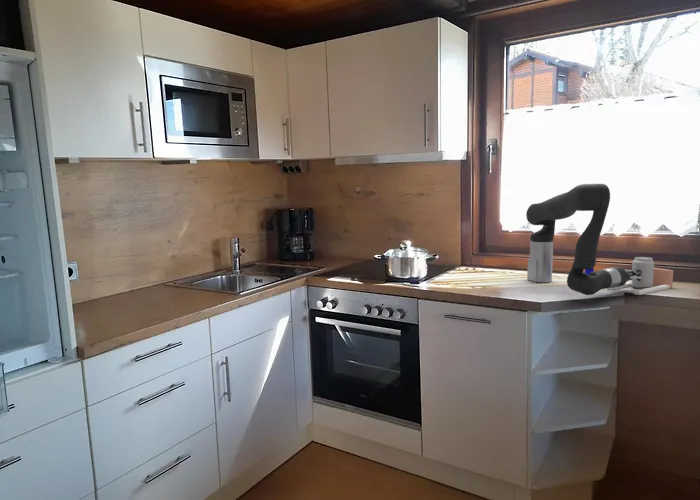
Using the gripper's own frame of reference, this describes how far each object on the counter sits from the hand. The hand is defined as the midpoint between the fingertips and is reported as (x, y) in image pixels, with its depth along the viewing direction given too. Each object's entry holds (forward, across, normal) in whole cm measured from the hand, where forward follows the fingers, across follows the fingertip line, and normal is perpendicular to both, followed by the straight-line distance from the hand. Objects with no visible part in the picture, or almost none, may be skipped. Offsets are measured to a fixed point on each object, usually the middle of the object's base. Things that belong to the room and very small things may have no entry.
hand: (639, 272), depth 204 cm
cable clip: (-6, +17, +7) cm, 19 cm away
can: (+4, +1, +7) cm, 8 cm away
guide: (+2, 0, +7) cm, 7 cm away
